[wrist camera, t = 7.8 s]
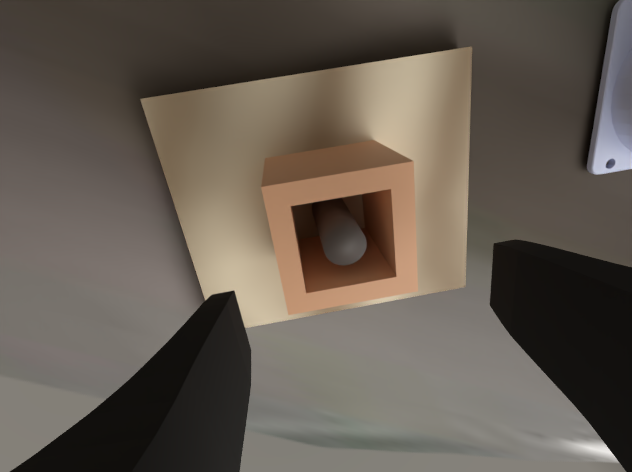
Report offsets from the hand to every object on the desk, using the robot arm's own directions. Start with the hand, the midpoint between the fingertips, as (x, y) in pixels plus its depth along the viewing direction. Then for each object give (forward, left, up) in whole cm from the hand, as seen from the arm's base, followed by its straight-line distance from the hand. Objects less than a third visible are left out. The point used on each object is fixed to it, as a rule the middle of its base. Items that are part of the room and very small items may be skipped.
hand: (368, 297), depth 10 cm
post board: (0, 0, -9) cm, 9 cm away
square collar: (0, 0, -8) cm, 8 cm away
